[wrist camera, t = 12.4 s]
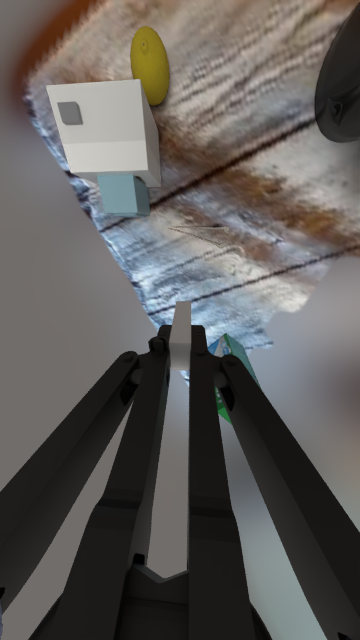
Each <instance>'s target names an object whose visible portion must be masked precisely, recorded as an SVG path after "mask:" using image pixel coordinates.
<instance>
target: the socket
mask: <svg viewBox="0 0 360 640" xmlns="http://www.w3.org/2000/svg"><path fill="white" fill-rule="evenodd" d="M46 88H47V92H48V95H49V98H50V102H51V105H52V109H53V112H54V116H55V119H56V123H57V126H58V130H59V133H60V137H61V140H62V144H63V147H64V150H65V154H66V157H67V161H68V164H69V168H70V171H71V173H73V174H75V175H77V176H80V177H82V178H84V179H86V180H89V181H91V182H93V183H96V184H98V179H97V176H102V175H132V174H133V175H134V176H140V181H141V182H142V183H143V184H144V185H145V186H147V187H161V172H160V155H159V137H158V129H157V126H156V124H155V121H154V118H153V115H152V112H151V109H150V106H149V104H148V101H147V98H146V95H145V92H144V89H143V86H142V84H141V81H140V79H135V80H120V81H106V82H92V83H78V84H63V85H49V86H46ZM98 185H99V184H98Z"/></svg>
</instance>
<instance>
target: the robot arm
mask: <svg viewBox="0 0 360 640" xmlns="http://www.w3.org/2000/svg"><path fill="white" fill-rule="evenodd" d="M315 112H316V119H317V123H318V125H319V128H320V130H321V131H322V133H323V134H324V135H325V136H326V137H327V138H328V139H330V140H332V141H335V142H340V143H344V142H351V141H354V140H357V139H359V138H360V2H359V3H358V5H357V6H356V7H355V9H354V10H353V11H352V13H351V14H350V15H349V17H348V18H347V19H346V21H345V22H344V24H343V25H342V27H341V29H340V30H339V32H338V34H337V35H336V37H335V39H334V41H333V43H332V45H331V47H330V49H329V51H328V53H327V56H326V58H325V61H324V63H323V66H322V69H321V73H320V76H319V80H318V84H317V90H316V98H315ZM148 343H149V349H150V352H148V353H145V354H141V355H138V354H137V353H136V352H134V351H128V352H125V353H123V354H121V355H120V356H119V358H117V360H116V361H115V362H114V363H113V364H112V365H111V366H110V368H109V369H108V370H107V371H106V372H105V374H104V375H103V376H102V377H101V378H100V379H99V380H98V381H97V382H96V384H95V385H94V386H93V387H92V388H91V389H90V391H88V393H87V394H86V395H85V396H84V397H83V398H82V400H81V401H80V402H79V403H78V404H77V405H76V406H75V407H74V409H73V410H72V411H71V412H70V413H69V414H68V415H67V417H66V418H65V419H64V420H63V421H62V422H61V423H60V425H59V426H58V427H57V428H56V429H55V430H54V431H53V433H52V434H51V435H50V436H49V437H48V438H47V439H46V441H45V442H44V443H43V444H42V445H41V446H40V447H39V448H38V450H37V451H36V452H35V453H34V454H33V455H32V456H31V458H30V459H29V460H28V461H27V462H26V463H25V464H24V466H23V467H22V468H21V469H20V470H19V471H18V472H17V473H16V475H15V476H14V477H13V478H12V479H11V480H10V481H9V483H8V484H7V485H6V486H5V487H4V488H3V490H2V491H1V492H0V638H1V635H2V628H3V624H2V614H3V613H4V612H5V610H6V609H7V608H8V606H9V605H10V604H11V602H12V601H13V600H14V598H15V597H16V596H17V594H18V593H19V592H20V590H21V589H22V587H23V586H24V585H25V583H26V582H27V580H28V579H29V577H30V576H31V574H32V573H33V571H34V570H35V568H36V567H37V565H38V564H39V562H40V560H41V559H42V557H43V555H44V554H45V552H46V551H47V549H48V547H49V546H50V544H51V543H52V541H53V539H54V537H55V536H56V533H57V532H58V530H59V529H60V527H61V525H62V523H63V522H64V520H65V518H66V517H67V515H68V513H69V511H70V510H71V508H72V506H73V504H74V503H75V501H76V499H77V497H78V496H79V494H80V492H81V490H82V489H83V487H84V485H85V483H86V482H87V480H88V478H89V477H90V475H91V473H92V471H93V470H94V468H95V466H96V464H97V463H98V461H99V459H100V458H101V456H102V454H103V452H104V451H105V449H106V447H107V445H108V444H109V442H110V440H111V439H112V437H113V435H114V433H115V432H116V430H117V428H118V426H119V425H120V423H121V421H122V420H123V418H124V416H125V414H126V413H127V411H128V409H129V407H130V406H131V404H132V402H133V404H132V408H131V411H130V414H129V417H128V420H127V423H126V426H125V429H124V432H123V436H122V439H121V442H120V445H119V448H118V451H117V454H116V457H115V460H114V463H113V466H112V470H111V473H110V476H109V479H108V482H107V485H106V488H105V491H104V494H103V495H102V497H101V499H100V500H99V502H98V503H97V504H96V505H95V507H94V509H93V511H92V513H91V515H90V518H89V520H88V523H87V525H86V528H85V531H84V534H83V536H82V540H81V542H80V545H79V548H78V551H77V554H76V557H75V559H74V562H73V565H72V568H71V571H70V574H69V577H68V580H67V583H66V586H65V588H64V591H63V593H62V594H61V596H60V597H59V598H58V599H57V601H56V602H55V603H54V604H53V606H52V607H51V608H50V610H49V611H48V613H47V614H46V616H45V617H44V618H43V620H42V621H41V622H40V624H39V625H38V627H37V628H36V629H35V631H34V632H33V634H32V635H31V636H30V638H29V639H28V640H272V638H271V636H270V634H269V632H268V630H267V628H266V626H265V624H264V623H263V621H262V620H261V618H260V616H259V614H258V613H257V611H256V609H255V608H254V607H253V605H252V604H251V602H250V600H249V594H248V587H247V581H246V574H245V568H244V562H243V555H242V548H241V542H240V536H239V531H238V526H237V522H236V519H235V516H234V513H233V510H232V506H231V500H230V494H229V487H228V480H227V473H226V466H225V459H224V451H223V445H222V437H221V430H220V424H219V416H218V409H217V402H216V395H215V388H214V386H216V387H217V390H218V392H219V395H220V397H221V399H222V402H223V404H224V407H225V409H226V411H227V414H228V416H229V418H230V421H231V423H232V425H233V428H234V430H235V432H236V435H237V437H238V439H239V442H240V444H241V447H242V449H243V451H244V454H245V456H246V459H247V461H248V463H249V466H250V468H251V470H252V473H253V475H254V478H255V480H256V483H257V485H258V487H259V490H260V492H261V494H262V497H263V499H264V501H265V504H266V506H267V508H268V511H269V513H270V516H271V518H272V520H273V523H274V525H275V528H276V530H277V532H278V535H279V537H280V539H281V542H282V544H283V547H284V549H285V551H286V554H287V556H288V558H289V561H290V563H291V566H292V568H293V570H294V572H295V575H296V577H297V579H298V581H299V583H300V586H301V588H302V590H303V592H304V595H305V597H306V599H307V601H308V603H309V605H310V607H311V609H312V611H313V613H314V615H315V617H316V619H317V621H318V622H319V625H320V626H321V628H322V630H323V632H324V634H325V636H326V638H327V640H360V532H359V531H358V529H357V528H356V527H355V525H354V524H353V522H352V521H351V520H350V518H349V516H348V515H347V514H346V512H345V511H344V509H343V508H342V506H341V505H340V503H339V502H338V500H337V499H336V498H335V496H334V495H333V493H332V492H331V490H330V489H329V487H328V486H327V484H326V483H325V482H324V480H323V479H322V477H321V476H320V474H319V473H318V471H317V470H316V468H315V467H314V466H313V464H312V463H311V461H310V460H309V458H308V457H307V455H306V454H305V452H304V451H303V450H302V448H301V447H300V445H299V444H298V442H297V441H296V439H295V438H294V437H293V435H292V434H291V432H290V431H289V429H288V428H287V426H286V425H285V423H284V422H283V421H282V419H281V418H280V416H279V415H278V413H277V412H276V410H275V409H274V407H273V406H272V405H271V403H270V402H269V400H268V399H267V397H266V396H265V395H264V393H263V392H262V390H261V389H260V387H259V386H258V384H257V383H256V381H255V380H254V378H253V377H252V376H251V374H250V373H249V371H248V370H247V368H246V367H245V365H244V364H243V362H242V361H241V360H240V359H239V358H238V357H237V356H235V355H232V354H226V355H223V356H222V357H218V356H215V355H213V354H211V353H210V352H209V350H208V348H207V341H206V333H205V328H204V327H203V326H202V325H191V302H187V301H177V302H176V307H175V313H174V318H173V323H172V325H162V326H161V327H160V328H159V331H158V334H157V336H156V337H153V338H151V339H150V340H149V342H148ZM170 368H171V370H185V371H190V377H189V457H188V460H189V461H188V527H187V528H188V529H187V530H188V531H187V570H186V571H184V572H181V573H179V574H176V575H174V576H171V577H168V578H162V577H161V576H159V575H158V574H156V573H155V572H153V571H152V570H150V569H149V568H148V567H146V566H147V558H148V551H149V543H150V534H151V519H152V518H151V517H152V507H153V500H154V492H155V485H156V477H157V470H158V462H159V455H160V447H161V440H162V432H163V425H164V418H165V410H166V403H167V395H168V388H169V381H170ZM133 400H134V401H133Z"/></svg>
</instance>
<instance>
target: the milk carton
mask: <svg viewBox="0 0 360 640" xmlns="http://www.w3.org/2000/svg"><path fill="white" fill-rule="evenodd" d="M208 350H209V352H210V353H211V354H213V355H215V356H218V357H222V356H223V355H226V354H232V355H235V356H237V357H238V358H239V359H240V360H241V361H242V362H243V364H244V365H245V367H246V368H247V370H248V371H249V373H250V374H251V376H252V377H253V378H254V380H255V381H256V383H257V384H258V386H259V387H260V385H259V383H258V380H257V378H256V376H255V373H254V371H253V369H252V367H251V364H250V362H249V359H248V357H247V355H246V352H245V350H244V348H243V346H242V345H240V344H239V343H238V342H236V341H235V340H234V339H232V338H231V337H230V336H228V335H227V334H224V335H223V336H222V337H221V338H219V339H218V340H217V341H216V342H215V343H213V344H212V345H211V346H210V347H208ZM214 388H215V395H216V402H217V409H218V413H219V414H220V415H221V416H222V417H224V419H226V420H227V421H228V422H229V423H230V424H232V423H231V421H230V418H229V416H228V414H227V411H226V409H225V407H224V404H223V402H222V399H221V397H220V395H219V392H218V390H217V387H216V386H214ZM260 389H261V387H260Z"/></svg>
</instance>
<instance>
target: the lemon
mask: <svg viewBox="0 0 360 640" xmlns="http://www.w3.org/2000/svg"><path fill="white" fill-rule="evenodd" d="M130 59H131V69H132V74H133V78H134V80H135V79H140V81H141V84H142V86H143V89H144V92H145V95H146V98H147V101H148V103H149V104H150V105H158V104H160V103H161V102H162V101H163V100H164V98H165V96H166V94H167V91H168V87H169V76H170V73H169V62H168V58H167V53H166V50H165V47H164V45H163V43H162V40H161V38H160V37H159V35H158V34H157V32H156V31H154V30H153V29H152V28H151V27H148V26H145V27H141V28H140V29H138V31H137V32H136V33H135V35H134V38H133V40H132V45H131V54H130Z"/></svg>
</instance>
